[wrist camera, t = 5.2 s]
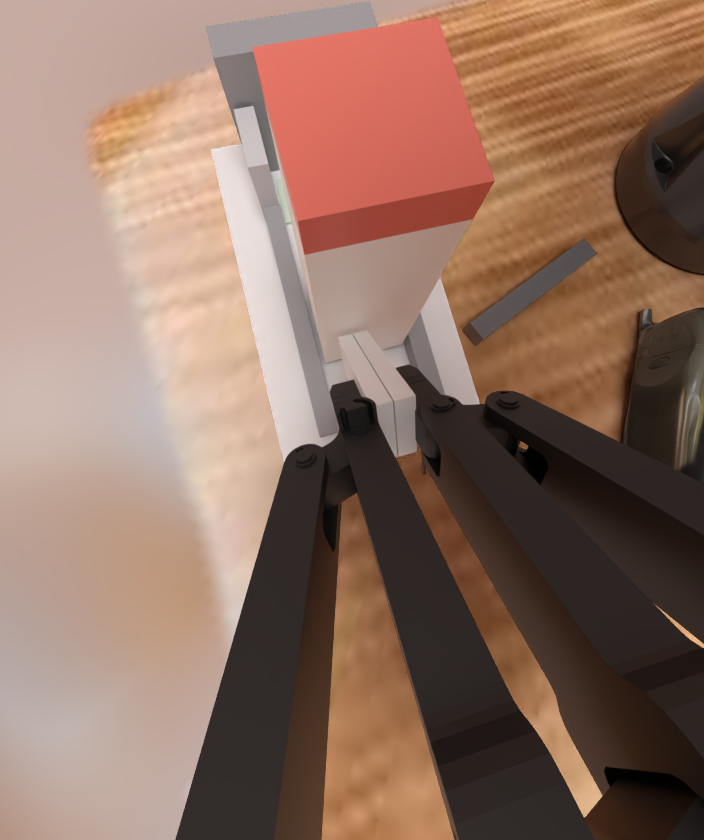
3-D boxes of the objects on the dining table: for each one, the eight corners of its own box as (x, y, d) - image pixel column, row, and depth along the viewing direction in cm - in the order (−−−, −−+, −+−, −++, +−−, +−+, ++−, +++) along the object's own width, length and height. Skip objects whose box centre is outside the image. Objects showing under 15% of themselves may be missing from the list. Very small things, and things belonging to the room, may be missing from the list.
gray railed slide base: (468, 414, 20) (548, 392, 13) (289, 461, 20) (253, 469, 12) (385, 145, 23) (408, -17, 15) (222, 176, 22) (155, 21, 14)
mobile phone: (742, 518, 16) (758, 281, 17) (692, 508, 16) (713, 271, 17) (645, 500, 21) (664, 317, 22) (608, 492, 21) (629, 310, 22)
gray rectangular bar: (567, 253, 23) (584, 238, 21) (579, 267, 23) (597, 253, 21) (460, 332, 22) (469, 322, 20) (473, 347, 22) (483, 339, 20)
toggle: (402, 344, 18) (494, 180, 7) (325, 362, 18) (297, 221, 7) (381, 272, 19) (437, 17, 8) (306, 289, 18) (252, 47, 7)
